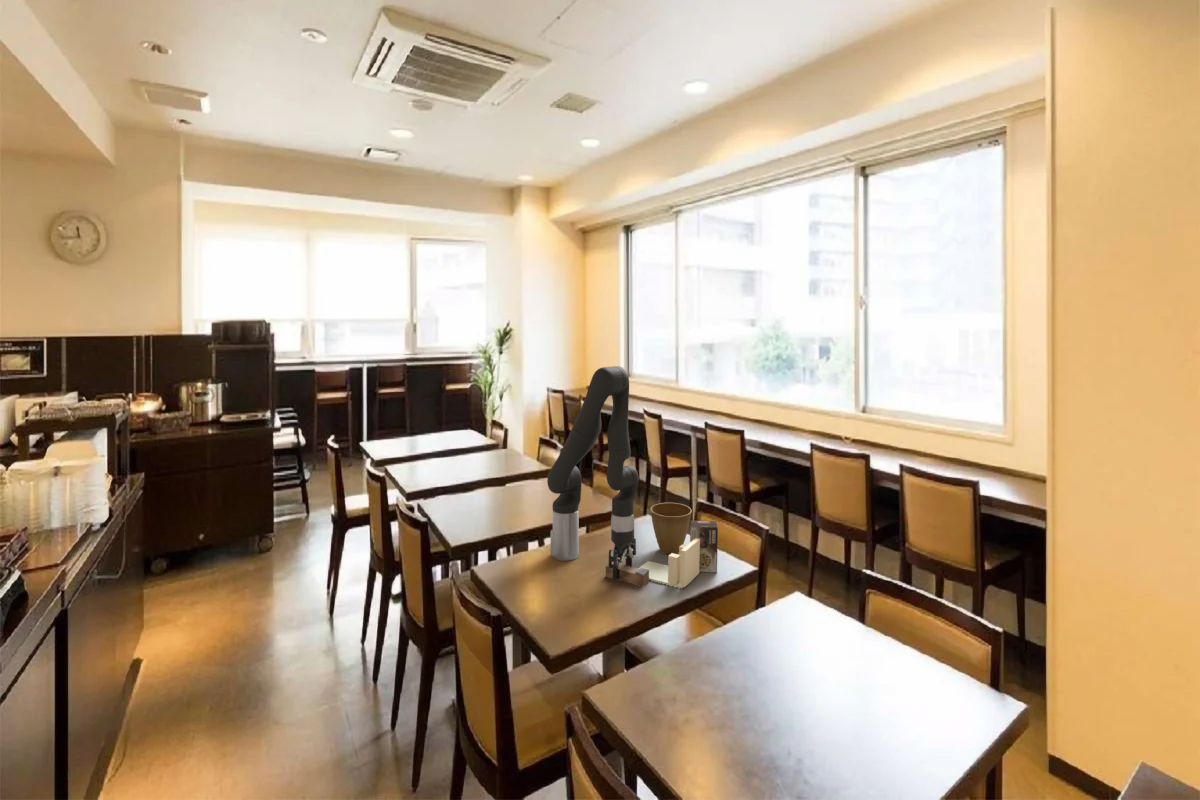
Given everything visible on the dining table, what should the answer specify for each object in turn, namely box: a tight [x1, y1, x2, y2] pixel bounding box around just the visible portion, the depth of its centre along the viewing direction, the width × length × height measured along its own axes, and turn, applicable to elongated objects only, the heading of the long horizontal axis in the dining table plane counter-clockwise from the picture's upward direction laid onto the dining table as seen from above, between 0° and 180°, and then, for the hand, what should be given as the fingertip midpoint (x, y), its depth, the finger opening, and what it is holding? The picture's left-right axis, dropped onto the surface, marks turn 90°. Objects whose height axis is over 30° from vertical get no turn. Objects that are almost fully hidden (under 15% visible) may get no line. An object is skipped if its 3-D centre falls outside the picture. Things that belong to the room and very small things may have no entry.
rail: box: [605, 562, 650, 587], centre depth 196 cm, size 14×4×4 cm, turn 59°
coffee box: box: [689, 520, 719, 573], centre depth 203 cm, size 9×6×16 cm
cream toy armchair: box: [637, 538, 700, 590], centre depth 198 cm, size 19×12×13 cm, turn 59°
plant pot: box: [650, 502, 693, 555], centre depth 218 cm, size 15×15×16 cm
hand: (622, 574), depth 197 cm, fingers open, 8 cm apart
